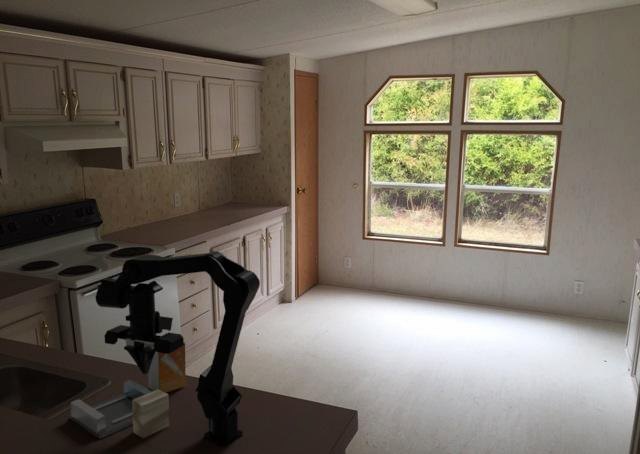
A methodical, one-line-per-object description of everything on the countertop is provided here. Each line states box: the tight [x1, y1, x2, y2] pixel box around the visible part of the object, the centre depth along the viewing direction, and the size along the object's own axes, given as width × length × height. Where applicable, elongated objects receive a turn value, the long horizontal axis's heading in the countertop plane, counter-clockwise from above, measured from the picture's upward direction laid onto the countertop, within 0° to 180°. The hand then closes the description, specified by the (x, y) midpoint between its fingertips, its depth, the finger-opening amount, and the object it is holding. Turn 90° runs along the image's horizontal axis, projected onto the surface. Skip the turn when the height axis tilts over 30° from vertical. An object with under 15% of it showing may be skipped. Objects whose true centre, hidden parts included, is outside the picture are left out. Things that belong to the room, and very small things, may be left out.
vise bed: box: [69, 392, 134, 440], centre depth 125 cm, size 14×16×4 cm
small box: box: [147, 341, 186, 394], centre depth 139 cm, size 8×6×13 cm
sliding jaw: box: [123, 379, 153, 399], centre depth 130 cm, size 12×2×3 cm, turn 52°
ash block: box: [132, 389, 170, 439], centre depth 119 cm, size 4×7×8 cm, turn 142°
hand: (145, 373), depth 120 cm, fingers closed
